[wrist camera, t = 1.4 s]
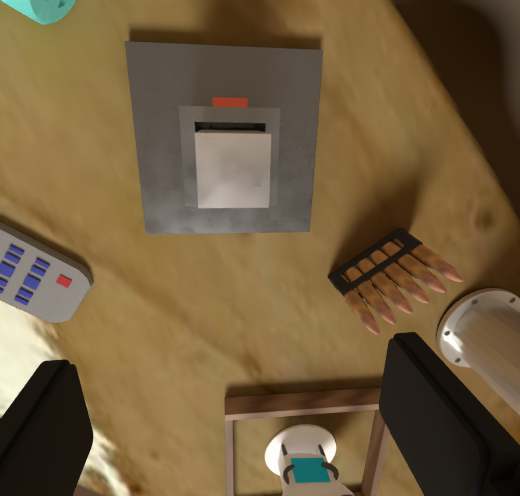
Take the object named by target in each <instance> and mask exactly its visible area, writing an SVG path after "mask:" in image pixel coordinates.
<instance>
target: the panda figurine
mask: <svg viewBox="0 0 520 496" xmlns="http://www.w3.org/2000/svg"><path fill="white" fill-rule="evenodd" d="M335 452H336V443H335V440H334V438H333V436H332V434H331V433H330V432H329V431H328V430H326V429H324V428H323V427H320V426H317V425H311V424H301V425H295V426H292V427H289V428H286V429H284V430H282V431H281V432H279V433H278V434H276V435H275V436H274V437H273V438H272V439H271V440H270V441H269V443H268V445H267V447H266V450H265V461H266V464H267V466H268V467H269V469H270V470H271V471H273V472H274V473H276V474H277V475H280V476H281V481H282V487H283V494H282V496H355V495H354V494H353V493H352V492H351V491H350V490H349V489H348V488H347V487H346V486H344V485H343V484H342V483H340V482H339V481H337V479H338V475H339V473H338V470H337V469H336V467H335V466H333V465H332V464H330V462H331V460H332V459H333V457H334V455H335ZM332 472H333V473H334V475H333V473H332ZM335 479H336V480H335Z"/></svg>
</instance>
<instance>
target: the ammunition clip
mask: <svg viewBox="0 0 520 496" xmlns="http://www.w3.org/2000/svg"><path fill="white" fill-rule="evenodd" d="M397 264H398V265H399V266H398V265H397ZM423 264H424V265H425V266H426V267H428V268H430V269H433V270H435V271H436V272H438V273H440V274H442V275H443V276H445V277H447V278H449V279H451V280H454V281H458V282H463V278H462V276H461V275H460V273H459V272H458V271H457V270H456V269H455V268H454V267H452V266H451V265H450V264H448V263H447V262H446V261H444V260H443V259H442V258H441V257H440V256H439V255H438V254H436V253H435V252H433V251H432V250H430V249H428V248H427V247H425V246H424V245H423V244H422V242H420V241H419V240H418V239H416V238H415V237H413V236H412V235H411V234H409V233H408V232H406V231H405V230H404V229H402V228H398V229H397V230H395V231H394V232H392V233H391V234H389V235H388V236H386V237H385V238H383V239H382V240H380V241H379V242H377V243H376V244H375V245H373V246H372V247H370V248H369V249H367V250H366V251H364V252H363V253H361V254H360V255H358V256H357V257H355V258H354V259H352V260H351V261H349V262H348V263H346V264H345V265H343V266H342V267H340V268H339V269H337V270H336V271H335V272H333V273H332V274H330V275H329V276H328V278H329V280H330V281H331V283H332V284H333V285H334V287H335V288H336V289H337V290H338V292H339V293H340V294H341V296H342V297H343V298H344V300H345V301H346V303H347V304H348V306H349V307H350V309H351V310H352V311H353V313H354V314H355V315H356V316H358V317H359V319H360V320H361V321H362V322H363V323H364V325H365V326H366V327H367V328H368V329H369V330H370V331H372V332H373V333H375V334H377V335H379V334H380V330H379V327H378V324H377V322H376V320H375V318H374V317H373V316H372V314H371V312H370V311H369V309H368V306H367V304H366V303H365V302H364V300H363V299H362V298H364V299H365V301H366V302H367V303H368V304H369V305H370V306H371V307H373V308H374V309H375V310H376V311H377V312H378V313H379V314H380V315H381V316H382V317H383V318H384V319H385V320H386V321H388V322H389V323H392V324H396V319H395V316H394V314H393V312H392V310H391V309H390V308H389V306H388V305H387V304H386V302H385V301H384V300H383V298H382V296H381V294H380V293H379V292H378V291H377V290H376V289H378V290H379V291H380V292H381V293H382V294H383V295H384V296H385V297H387V298H389V299H390V300H391V301H392V302H393V303H394V304H395V305H396V306H397V307H399V308H400V309H401V310H403V311H405V312H407V313H410V314H412V313H413V310H412V307H411V305H410V303H409V302H408V300H407V299H406V298H405V297H404V296H403V295H402V293H401V292H400V291H399V290H398V288H397V286H399V287H400V288H402V289H404V290H405V291H406V292H408V293H409V294H410V295H411V296H413V297H414V298H416V299H417V300H419V301H421V302H424V303H429V298H428V296H427V294H426V293H425V292H424V290H423V289H422V288H421V287H420V286H419V285H418V284H417V283H416V282H415V281H414V280H413V279H412V277H414V278H416V279H418V280H420V281H421V282H423V283H425V284H426V285H427V286H429V287H430V288H432V289H434V290H436V291H439V292H443V293H445V292H446V288H445V286H444V285H443V283H442V282H441V281H440V280H439V279H438V278H437V277H436V276H435V275H433V274H432V273H431V272H430V271H429V270H428V269H427V268H426V267H425V266H424V265H423ZM408 273H409V274H410V275H411V276H412V277H411V276H410V275H409V274H408ZM385 274H386V275H385ZM368 279H369V280H370V281H371V282H372V284H371V283H370V282H369V281H368ZM391 280H392V281H393V282H394V283H395V284H396V285H397V286H396V285H395V284H394V283H393V282H392V281H391ZM354 288H356V289H357V291H358V292H359V293H357V291H356V290H355V289H354Z"/></svg>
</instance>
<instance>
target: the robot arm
mask: <svg viewBox="0 0 520 496" xmlns="http://www.w3.org/2000/svg"><path fill="white" fill-rule="evenodd" d="M437 343H438V347H439V349H440V351H441V353H442V354H443V355H444V356H445V357H446V358H447V359H448V360H449V361H450V362H451V363H453V364H455V365H458V366H461V367H471V368H472V369H473V370H474V371H475V372H477V373H478V374H479V375H480V376H481V377H482V378H483V379H484V380H485V381H486V382H487V383H488V384H489V385H490V386H491V387H492V388H493V389H494V390H495V391H496V392H497V393H498V394H499V395H500V396H501V397H502V398H503V399H504V400H505V401H506V402H507V403H508V404H509V405H510V406H511V407H512V408H513V409H514V410H515V411H516V412H517V413H518V414H519V415H520V298H519V297H518V296H516V295H514V294H513V293H511V292H509V291H507V290H504V289H500V288H486V289H481V290H477V291H475V292H472V293H470V294H468V295H466V296H464V297H463V298H461V299H460V300H459V301H457V302H456V303H455V304H454V305H453V306H452V307H451V308H450V309H449V310H448V311H447V312H446V314H445V315H444V317H443V318H442V320H441V322H440V325H439V328H438V331H437ZM379 411H380V414H381V416H382V418H383V420H384V422H385V424H386V426H387V428H388V429H389V431H390V433H391V435H392V437H393V439H394V440H395V442H396V444H397V446H398V448H399V450H400V451H401V453H402V455H403V457H404V459H405V461H406V462H407V464H408V466H409V468H410V470H411V472H412V473H413V475H414V477H415V479H416V481H417V483H418V484H419V486H420V488H421V490H422V492H423V494H424V495H425V496H520V445H519V444H518V443H517V442H516V441H515V440H514V438H513V437H512V436H511V435H510V434H509V433H508V432H507V431H506V430H505V429H504V428H503V427H502V425H501V424H500V423H499V422H498V421H497V420H496V419H495V418H494V417H493V416H492V415H491V413H490V412H489V411H488V410H487V409H486V408H485V407H484V406H483V405H482V404H481V403H480V402H479V400H478V399H477V398H476V397H475V396H474V395H473V394H472V393H471V392H470V391H469V390H468V388H467V387H466V386H465V385H464V384H463V383H462V382H461V381H460V380H459V379H458V378H457V377H456V375H455V374H454V373H453V372H452V371H451V370H450V369H449V368H448V367H447V366H446V365H445V363H444V362H443V361H442V360H441V359H440V358H439V357H438V356H437V355H436V354H435V353H434V351H433V350H432V349H431V348H430V347H429V346H428V345H427V344H426V343H425V342H424V341H423V340H422V338H421V337H420V336H419V335H418V334H417V333H415V332H408V333H397V334H395V335H394V337H393V339H390V340H389V343H388V349H387V355H386V362H385V368H384V374H383V380H382V386H381V393H380V399H379ZM92 443H93V430H92V426H91V422H90V419H89V415H88V411H87V407H86V403H85V400H84V396H83V392H82V388H81V384H80V380H79V377H78V373H77V369H76V366H75V365H74V364H70V363H69V361H68V360H52V361H44V362H42V363H41V364H40V365H39V367H38V368H37V370H36V371H35V372H34V374H33V375H32V376H31V378H30V379H29V381H28V382H27V383H26V385H25V386H24V387H23V389H22V390H21V392H20V393H19V394H18V396H17V397H16V398H15V400H14V401H13V403H12V404H11V405H10V407H9V408H8V409H7V411H6V412H5V414H4V415H3V416H2V418H0V496H73V493H74V491H75V488H76V486H77V483H78V480H79V478H80V475H81V473H82V470H83V468H84V465H85V462H86V460H87V457H88V455H89V452H90V450H91V447H92Z"/></svg>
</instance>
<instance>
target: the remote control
mask: <svg viewBox="0 0 520 496" xmlns="http://www.w3.org/2000/svg"><path fill="white" fill-rule="evenodd" d="M70 283H71V284H70ZM93 283H94V281H93V278H92V275H91V273H90V272H89V271H88V270H87V269H86V268H85V267H84V265H82V264H80V263H78V262H76V261H74V260H72V259H70V258H68V257H66V256H65V255H63V254H61V253H59V252H57V251H55V250H53V249H51V248H49V247H47V246H46V245H44V244H42V243H40V242H38V241H36V240H34V239H32V238H30V237H28V236H26V235H25V234H23V233H21V232H19V231H17V230H15V229H13V228H11V227H9V226H7V225H5V224H4V223H2V222H0V300H1V301H3V302H5V303H7V304H9V305H11V306H14V307H16V308H18V309H20V310H23V311H25V312H27V313H29V314H32V315H34V316H36V317H38V318H40V319H42V320H45V321H47V322H56V323H61V322H64V321H67V320H70V319H71V318H72V316H73V315H74V313H75V312H76V310H77V308H78V307H79V305H80V304H81V302H82V300H83V299H84V297H85V296H86V294H87V292H88V291H89V289H90V288H91V286H92V284H93Z"/></svg>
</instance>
